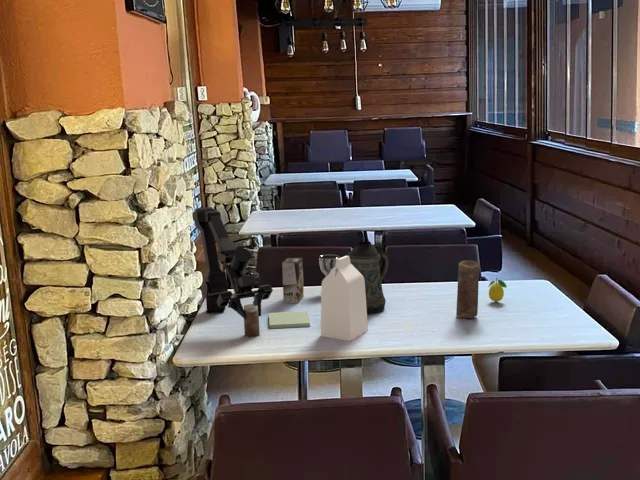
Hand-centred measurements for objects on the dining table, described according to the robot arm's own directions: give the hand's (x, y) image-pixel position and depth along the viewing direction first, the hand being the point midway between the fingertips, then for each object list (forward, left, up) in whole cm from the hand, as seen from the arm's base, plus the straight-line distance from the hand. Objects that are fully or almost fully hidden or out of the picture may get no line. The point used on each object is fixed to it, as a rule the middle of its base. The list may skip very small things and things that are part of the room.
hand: (253, 317), depth 238 cm
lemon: (+91, +24, -7) cm, 95 cm away
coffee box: (+15, +41, -7) cm, 45 cm away
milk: (+30, -2, -7) cm, 31 cm away
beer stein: (+41, +26, -7) cm, 49 cm away
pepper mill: (-1, +1, -7) cm, 7 cm away
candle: (+75, +8, -7) cm, 76 cm away
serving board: (+12, +14, -7) cm, 20 cm away
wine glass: (+30, +49, -7) cm, 58 cm away
